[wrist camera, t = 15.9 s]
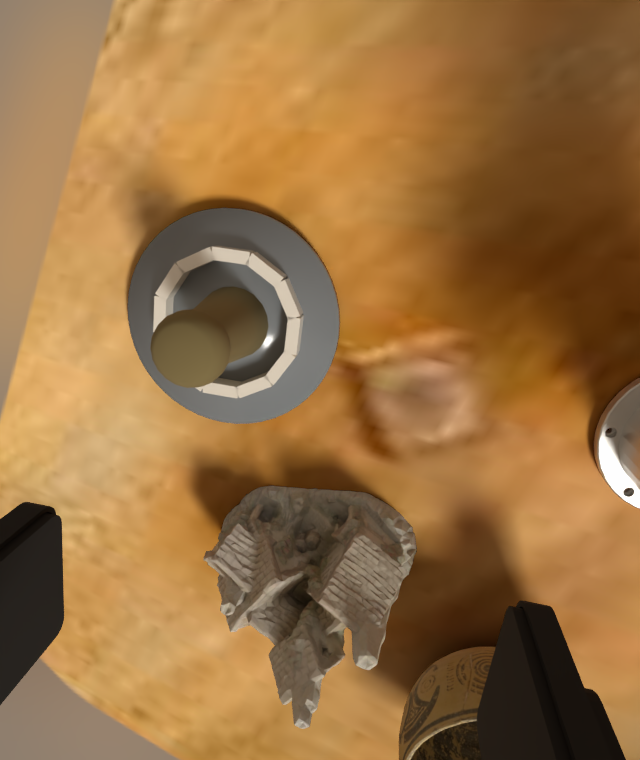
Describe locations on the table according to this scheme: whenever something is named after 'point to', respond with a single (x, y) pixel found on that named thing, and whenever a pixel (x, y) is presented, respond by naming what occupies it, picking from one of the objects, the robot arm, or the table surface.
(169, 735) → the table surface
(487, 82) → the table surface
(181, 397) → the round tray
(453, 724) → the ceramic bowl
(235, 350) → the cork
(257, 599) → the ceramic cottage
